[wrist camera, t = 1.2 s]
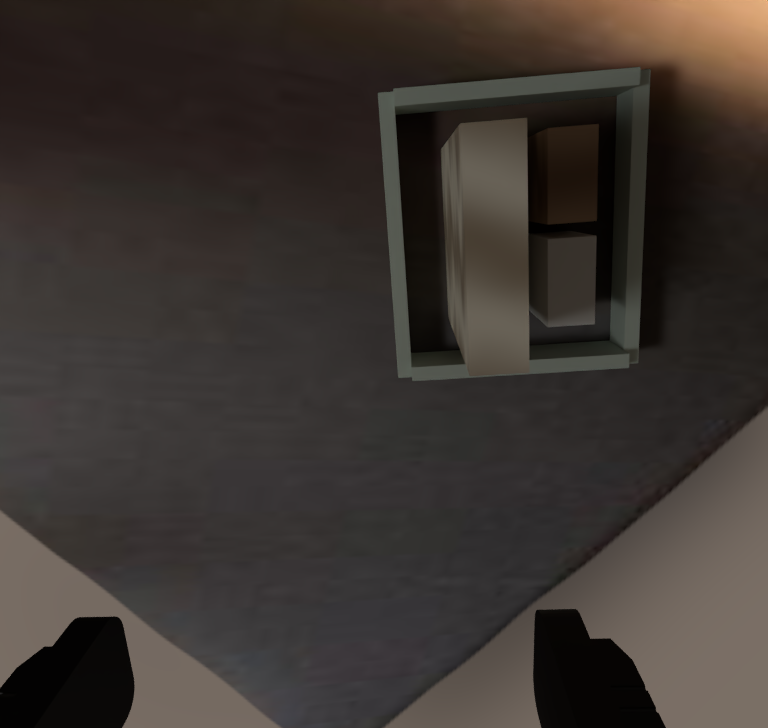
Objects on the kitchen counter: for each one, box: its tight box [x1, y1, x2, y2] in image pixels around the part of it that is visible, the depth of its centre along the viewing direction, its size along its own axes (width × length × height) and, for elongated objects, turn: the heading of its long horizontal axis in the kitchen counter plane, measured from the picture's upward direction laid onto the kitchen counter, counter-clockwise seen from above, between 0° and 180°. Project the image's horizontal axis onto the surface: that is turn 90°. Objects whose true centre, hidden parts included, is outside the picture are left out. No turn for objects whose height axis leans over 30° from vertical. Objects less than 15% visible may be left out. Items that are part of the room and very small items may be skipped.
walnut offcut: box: [527, 124, 599, 225], centre depth 39 cm, size 6×3×6 cm, turn 4°
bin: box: [378, 67, 651, 381], centre depth 41 cm, size 19×17×4 cm
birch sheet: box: [441, 118, 529, 376], centre depth 35 cm, size 12×3×15 cm, turn 4°
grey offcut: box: [528, 231, 597, 327], centre depth 40 cm, size 6×3×6 cm, turn 4°
